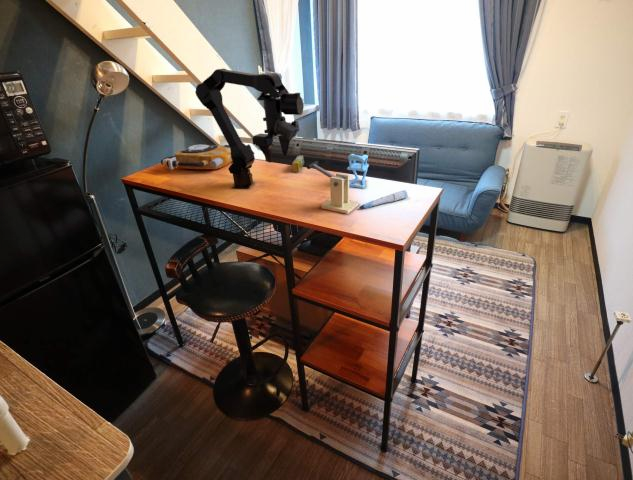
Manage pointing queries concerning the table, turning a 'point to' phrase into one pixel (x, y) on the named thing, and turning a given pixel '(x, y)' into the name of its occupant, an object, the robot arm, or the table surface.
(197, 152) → the device
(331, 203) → the bracket
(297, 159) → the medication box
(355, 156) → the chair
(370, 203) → the pen
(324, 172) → the lever
